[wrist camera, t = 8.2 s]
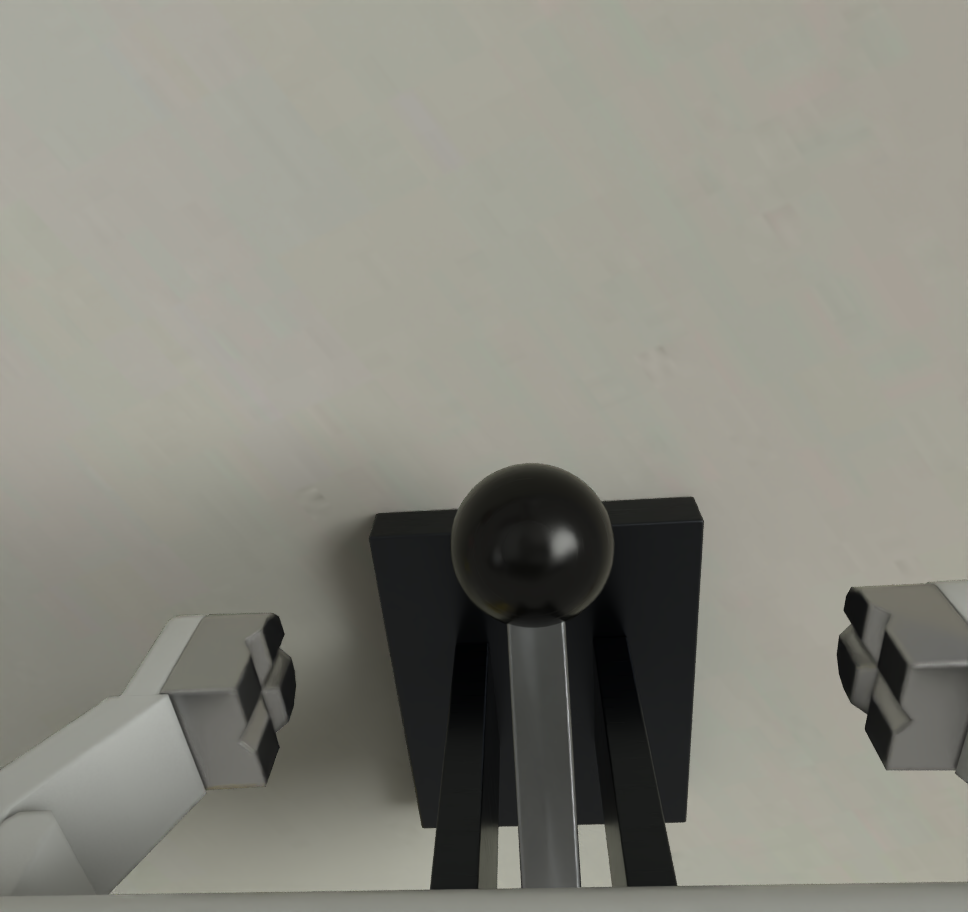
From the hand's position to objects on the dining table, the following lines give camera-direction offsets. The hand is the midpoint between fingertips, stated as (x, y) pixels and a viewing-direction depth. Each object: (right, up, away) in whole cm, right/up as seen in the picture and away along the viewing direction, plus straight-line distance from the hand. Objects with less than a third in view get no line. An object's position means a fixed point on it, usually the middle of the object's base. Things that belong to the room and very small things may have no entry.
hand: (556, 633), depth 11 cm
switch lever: (0, -4, +5) cm, 6 cm away
